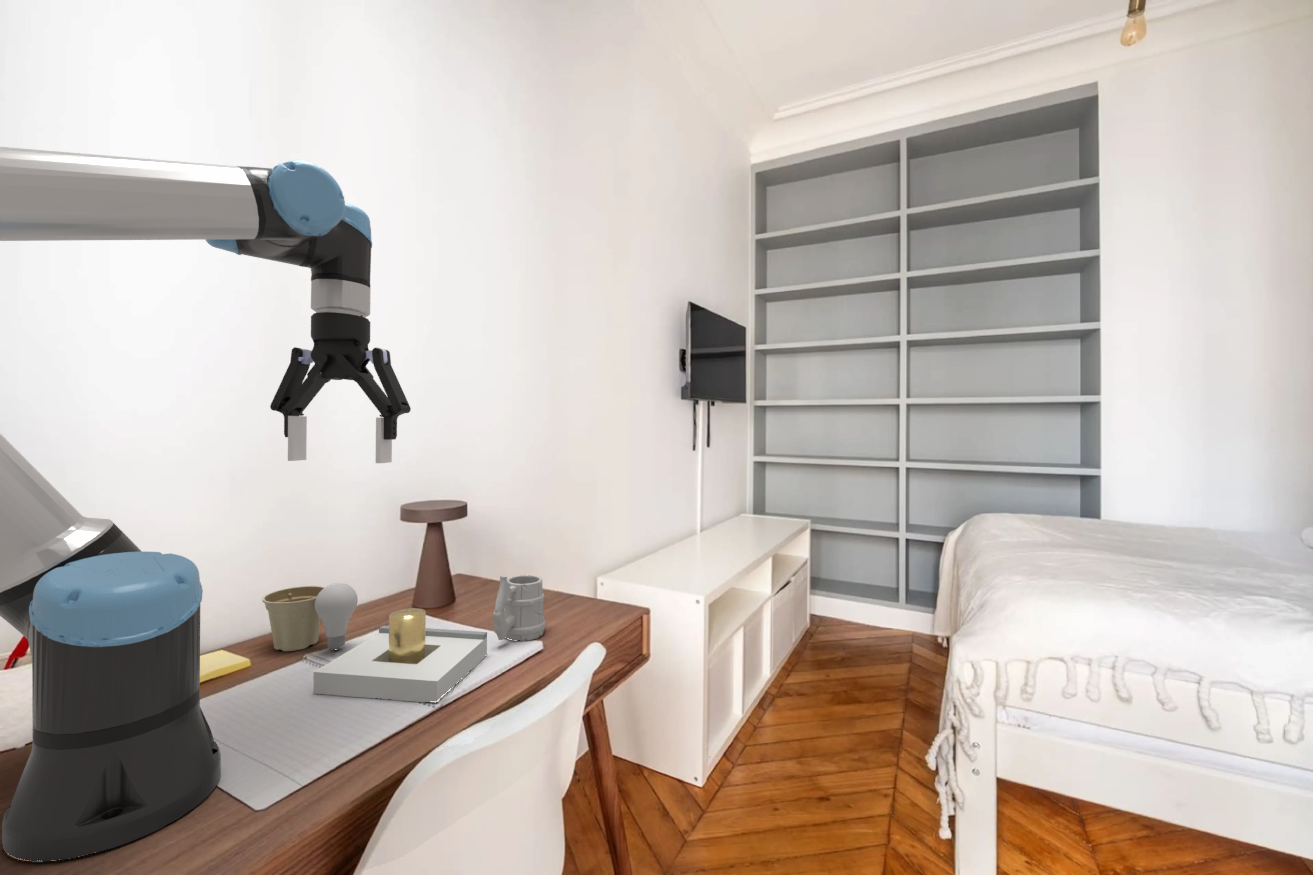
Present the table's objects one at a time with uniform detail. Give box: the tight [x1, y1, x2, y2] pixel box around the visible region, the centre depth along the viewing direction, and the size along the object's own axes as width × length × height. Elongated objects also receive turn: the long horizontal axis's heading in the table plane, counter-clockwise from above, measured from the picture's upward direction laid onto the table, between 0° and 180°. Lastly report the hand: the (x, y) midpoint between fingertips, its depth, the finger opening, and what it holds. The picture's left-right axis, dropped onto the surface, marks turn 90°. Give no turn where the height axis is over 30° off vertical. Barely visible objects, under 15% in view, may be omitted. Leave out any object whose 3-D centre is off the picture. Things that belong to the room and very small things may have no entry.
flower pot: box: [261, 585, 326, 652], centre depth 93 cm, size 9×9×9 cm
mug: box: [492, 574, 546, 642], centre depth 98 cm, size 8×12×12 cm, turn 158°
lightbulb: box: [315, 582, 358, 651], centre depth 91 cm, size 6×6×11 cm
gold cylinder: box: [388, 607, 427, 664], centre depth 84 cm, size 5×5×9 cm
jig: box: [312, 625, 488, 703], centre depth 84 cm, size 16×18×4 cm
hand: (340, 461), depth 81 cm, fingers open, 13 cm apart
